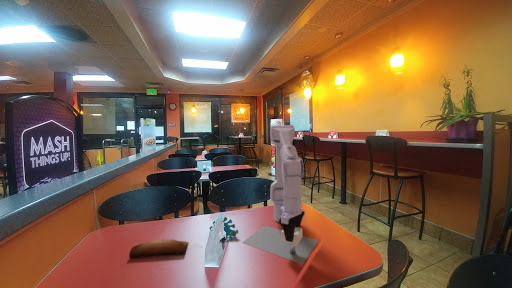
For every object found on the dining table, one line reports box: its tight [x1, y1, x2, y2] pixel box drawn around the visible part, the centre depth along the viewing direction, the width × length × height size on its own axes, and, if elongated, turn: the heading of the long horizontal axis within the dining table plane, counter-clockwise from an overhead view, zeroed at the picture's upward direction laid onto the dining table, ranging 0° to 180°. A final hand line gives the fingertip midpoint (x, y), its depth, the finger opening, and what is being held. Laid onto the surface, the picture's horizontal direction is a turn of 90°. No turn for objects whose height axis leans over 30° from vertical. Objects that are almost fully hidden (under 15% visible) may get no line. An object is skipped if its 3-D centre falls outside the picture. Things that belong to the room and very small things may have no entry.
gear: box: [209, 216, 239, 241], centre depth 80 cm, size 11×6×10 cm
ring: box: [281, 227, 303, 245], centre depth 67 cm, size 5×5×3 cm
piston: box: [289, 243, 296, 254], centre depth 68 cm, size 2×2×4 cm
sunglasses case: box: [128, 238, 189, 259], centre depth 72 cm, size 18×7×7 cm
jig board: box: [241, 225, 319, 265], centre depth 75 cm, size 16×23×1 cm
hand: (292, 236), depth 67 cm, fingers closed on ring, 5 cm apart
